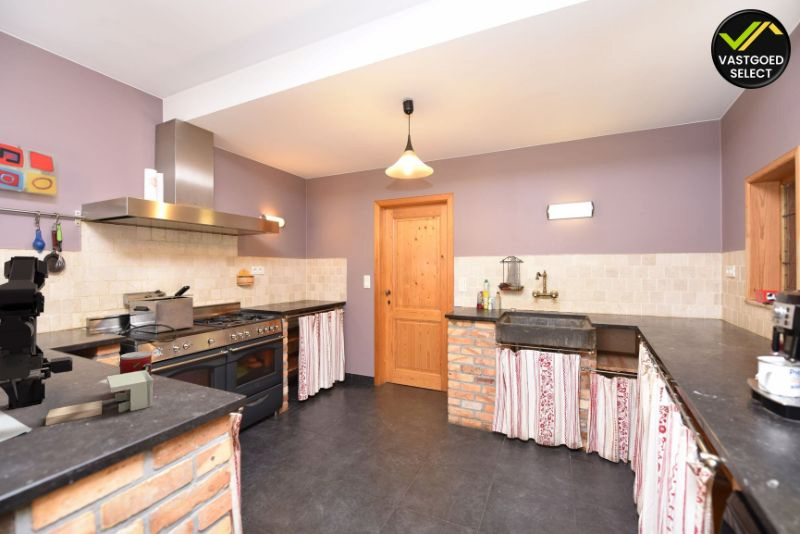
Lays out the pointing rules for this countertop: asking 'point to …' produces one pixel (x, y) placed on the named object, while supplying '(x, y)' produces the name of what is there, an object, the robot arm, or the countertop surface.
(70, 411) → the panel
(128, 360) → the canned food
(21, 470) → the countertop surface
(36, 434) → the countertop surface
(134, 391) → the pale green angular bracket
